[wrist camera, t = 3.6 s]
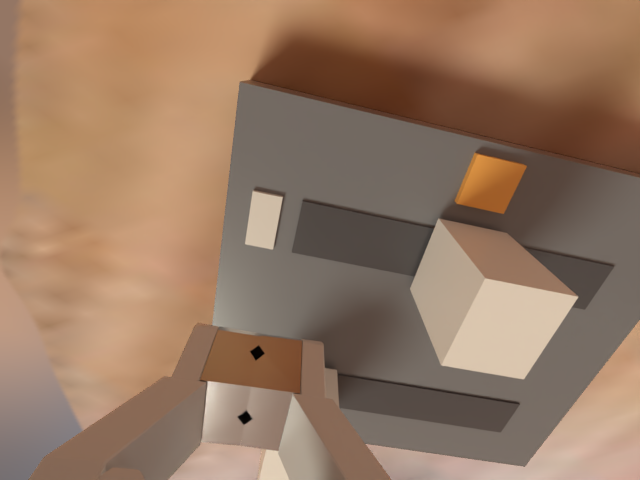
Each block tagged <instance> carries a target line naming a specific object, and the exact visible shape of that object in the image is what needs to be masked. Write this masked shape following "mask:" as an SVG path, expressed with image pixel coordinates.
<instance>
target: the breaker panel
mask: <svg viewBox="0 0 640 480" xmlns="http://www.w3.org/2000/svg"><path fill="white" fill-rule="evenodd" d="M438 218H439V219H444V220H449V221H453V222H458V223H463V224H467V225H472V226H477V227H481V228H486V229H491V230H495V231H500V232H505V233H507V234H509V235H510V236H511V237H512V238H513V239H514V240H515V241H516V242H518V243H519V244H520V245H521V246H522V247H523V248H524V249H525V250H527V251H528V252H529V253H530V254H531V255H532V256H533V257H534V258H536V259H537V260H538V261H539V262H540V263H541V264H542V265H543V266H545V267H546V268H547V269H548V270H549V271H550V272H551V273H552V274H554V275H555V276H556V277H557V278H558V279H559V280H560V281H561V282H562V283H564V284H565V285H566V286H567V287H568V288H569V289H570V290H571V291H573V292H574V293H575V294H576V295H577V296H578V299H577V300H576V302H575V303H574V305H573V306H572V308H571V309H570V311H569V312H568V314H567V315H566V317H565V318H564V320H563V321H562V323H561V324H560V326H559V327H558V329H557V330H556V332H555V333H554V335H553V336H552V338H551V339H550V341H549V342H548V344H547V345H546V347H545V348H544V350H543V351H542V353H541V354H540V356H539V357H538V359H537V360H536V362H535V363H534V365H533V366H532V368H531V369H530V371H529V372H528V374H527V375H526V377H525V378H524V379H518V378H512V377H506V376H500V375H495V374H489V373H483V372H477V371H471V370H465V369H459V368H453V367H448V366H442V365H441V364H440V362H439V359H438V357H437V354H436V352H435V349H434V347H433V344H432V342H431V339H430V337H429V335H428V332H427V330H426V327H425V325H424V322H423V320H422V317H421V315H420V312H419V310H418V308H417V305H416V303H415V300H414V298H413V295H412V293H411V290H410V287H411V285H412V282H413V280H414V278H415V275H416V273H417V270H418V268H419V265H420V263H421V260H422V258H423V255H424V253H425V250H426V248H427V245H428V243H429V240H430V238H431V235H432V233H433V230H434V228H435V225H436V223H437V220H438ZM639 320H640V174H638V173H634V172H630V171H626V170H622V169H618V168H614V167H609V166H605V165H601V164H597V163H593V162H589V161H585V160H580V159H576V158H572V157H568V156H564V155H560V154H556V153H551V152H547V151H543V150H539V149H535V148H531V147H527V146H522V145H518V144H514V143H510V142H506V141H502V140H497V139H493V138H489V137H485V136H481V135H477V134H473V133H468V132H464V131H460V130H456V129H452V128H448V127H444V126H439V125H435V124H431V123H427V122H423V121H419V120H415V119H410V118H406V117H402V116H398V115H394V114H390V113H386V112H381V111H377V110H373V109H369V108H365V107H361V106H357V105H352V104H348V103H344V102H340V101H336V100H332V99H327V98H323V97H319V96H315V95H311V94H307V93H303V92H298V91H294V90H290V89H286V88H282V87H278V86H274V85H269V84H265V83H261V82H257V81H253V80H246V81H242V82H240V85H239V93H238V102H237V111H236V120H235V129H234V138H233V146H232V155H231V164H230V173H229V182H228V191H227V199H226V208H225V217H224V226H223V235H222V244H221V252H220V261H219V270H218V279H217V288H216V297H215V305H214V314H213V323H212V325H213V326H218V327H220V326H221V327H227V328H232V329H238V330H244V331H249V332H255V333H261V334H268V335H275V336H282V337H289V338H296V339H301V340H302V339H305V340H313V341H320V342H322V343H323V345H324V364H325V368H328V369H334V370H337V378H338V395H339V409H340V410H341V411H342V413H343V414H344V416H345V417H346V418H347V420H348V421H349V422H350V424H351V425H352V426H353V428H354V429H355V431H356V432H357V433H358V435H359V436H360V437H361V439H362V440H363V442H364V443H365V444H371V445H378V446H385V447H392V448H399V449H406V450H412V451H419V452H426V453H433V454H440V455H447V456H454V457H461V458H468V459H475V460H482V461H489V462H496V463H503V464H510V465H517V466H524V467H525V466H526V464H527V463H528V462H529V461H530V459H531V458H532V457H533V455H534V454H535V453H536V452H537V450H538V449H539V448H540V446H541V445H542V444H543V443H544V441H545V440H546V439H547V438H548V436H549V435H550V434H551V432H552V431H553V430H554V429H555V427H556V426H557V425H558V423H559V422H560V421H561V420H562V418H563V417H564V416H565V415H566V413H567V412H568V411H569V409H570V408H571V407H572V406H573V404H574V403H575V402H576V400H577V399H578V398H579V397H580V395H581V394H582V393H583V392H584V390H585V389H586V388H587V386H588V385H589V384H590V383H591V381H592V380H593V379H594V377H595V376H596V375H597V374H598V372H599V371H600V370H601V369H602V367H603V366H604V365H605V363H606V362H607V361H608V360H609V358H610V357H611V356H612V354H613V353H614V352H615V351H616V349H617V348H618V347H619V346H620V344H621V343H622V342H623V340H624V339H625V338H626V337H627V335H628V334H629V333H630V331H631V330H632V329H633V328H634V326H635V325H636V324H637V323H638V321H639Z"/></svg>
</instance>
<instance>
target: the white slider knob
mask: <svg viewBox="0 0 640 480" xmlns="http://www.w3.org/2000/svg"><path fill="white" fill-rule="evenodd" d="M325 386H326V398H329V399H333V400H334V402H335V403H336V405H337V406H338V407H339V395H338V378H337V370H334V369H328V368H325ZM257 480H289V478H288V476H287V473H286V471H285V468H284V466H283V464H282V461H281V459H280V457H279V454H278V451H274V450H267V449H262V450H261V457H260V464H259V470H258V477H257Z"/></svg>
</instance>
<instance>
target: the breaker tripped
mask: <svg viewBox="0 0 640 480" xmlns="http://www.w3.org/2000/svg"><path fill="white" fill-rule="evenodd" d="M410 290H411V293H412V295H413V298H414V300H415V303H416V305H417V308H418V310H419V312H420V315H421V317H422V320H423V322H424V325H425V327H426V330H427V332H428V335H429V337H430V339H431V342H432V344H433V347H434V349H435V352H436V354H437V357H438V359H439V362H440V364H441V365H442V366H448V367H453V368H459V369H465V370H471V371H477V372H483V373H489V374H495V375H500V376H506V377H512V378H518V379H524V378H525V377H526V375H527V374H528V372H529V371H530V369H531V368H532V366H533V365H534V363H535V362H536V360H537V359H538V357H539V356H540V354H541V353H542V351H543V350H544V348H545V347H546V345H547V344H548V342H549V341H550V339H551V338H552V336H553V335H554V333H555V332H556V330H557V329H558V327H559V326H560V324H561V323H562V321H563V320H564V318H565V317H566V315H567V314H568V312H569V311H570V309H571V308H572V306H573V305H574V303H575V302H576V300H577V299H578V296H577V295H576V294H575V293H574V292H573V291H571V290H570V289H569V288H568V287H567V286H566V285H565V284H564V283H562V282H561V281H560V280H559V279H558V278H557V277H556V276H555V275H554V274H552V273H551V272H550V271H549V270H548V269H547V268H546V267H545V266H543V265H542V264H541V263H540V262H539V261H538V260H537V259H536V258H534V257H533V256H532V255H531V254H530V253H529V252H528V251H527V250H525V249H524V248H523V247H522V246H521V245H520V244H519V243H518V242H516V241H515V240H514V239H513V238H512V237H511V236H510V235H509V234H507V233H505V232H500V231H495V230H491V229H486V228H481V227H477V226H472V225H467V224H463V223H458V222H453V221H449V220H444V219H439V218H438V220H437V223H436V225H435V228H434V230H433V233H432V235H431V238H430V240H429V243H428V245H427V248H426V250H425V253H424V255H423V258H422V260H421V263H420V265H419V268H418V270H417V273H416V275H415V278H414V280H413V282H412V285H411V287H410Z"/></svg>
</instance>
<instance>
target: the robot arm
mask: <svg viewBox="0 0 640 480" xmlns="http://www.w3.org/2000/svg"><path fill="white" fill-rule="evenodd" d="M200 442H205V443H217V444H228V445H240V446H247V447H253V448H260V449H267V450H274V451H278V454H279V457H280V459H281V461H282V464H283V466H284V468H285V471H286V473H287V476H288V478H289V480H391V479H390V477H389V476H388V474H387V473H386V472H385V470H384V469H383V468H382V466H381V465H380V463H379V462H378V461H377V459H376V458H375V457H374V455H373V454H372V453H371V451H370V450H369V448H368V447H367V446H366V444H365V443H364V442H363V440H362V439H361V437H360V436H359V435H358V433H357V432H356V431H355V429H354V428H353V426H352V425H351V424H350V422H349V421H348V420H347V418H346V417H345V416H344V414H343V413H342V411H341V410H340V409H339V407H338V406H337V405H336V403H335V402H334V400H333V399H329V398H326V386H325V364H324V345H323V343H322V342H320V341H313V340H305V339H302V340H301V339H296V338H289V337H282V336H275V335H268V334H261V333H255V332H249V331H244V330H238V329H232V328H227V327H221V326H220V327H218V326H213V325H207V324H202V323H197V325H196V326H195V327H194V329H193V331H192V333H191V335H190V337H189V340H188V342H187V344H186V346H185V348H184V351H183V353H182V355H181V357H180V359H179V362H178V364H177V366H176V368H175V370H174V373H173V375H172V377H165V376H164V377H163V378H161V379H160V380H158V381H157V382H155V383H154V384H152V385H151V386H149V387H148V388H146V389H145V390H143V391H142V392H140V393H139V394H137V395H136V396H134V397H133V398H131V399H130V400H128V401H127V402H125V403H124V404H122V405H121V406H119V407H118V408H116V409H115V410H113V411H112V412H110V413H109V414H107V415H106V416H104V417H103V418H101V419H100V420H98V421H97V422H96V423H94V424H93V425H91V426H90V427H88V428H87V429H85V430H84V431H82V432H81V433H79V434H78V435H76V436H75V437H73V438H72V439H70V440H69V441H67V442H66V443H64V444H63V445H61V446H60V447H59V448H57V449H55V450H54V451H52V452H51V453H49V454H48V455H46V456H45V457H44V458H43V459H42V461H41V462H40V464H39V465H38V467H37V468H36V469H35V471H34V473H33V474H32V475H31V477H30V478H29V480H168V479H169V478H170V477H171V476H172V475H173V474H174V472H175V471H176V470H177V469H178V468H179V467H180V466H181V465H182V464H183V463H184V462H185V461H186V460H187V458H188V457H189V456H190V455H191V454H192V453H193V452H194V451H195V450H196V449H197V448H198V447H199V445H200Z"/></svg>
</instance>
